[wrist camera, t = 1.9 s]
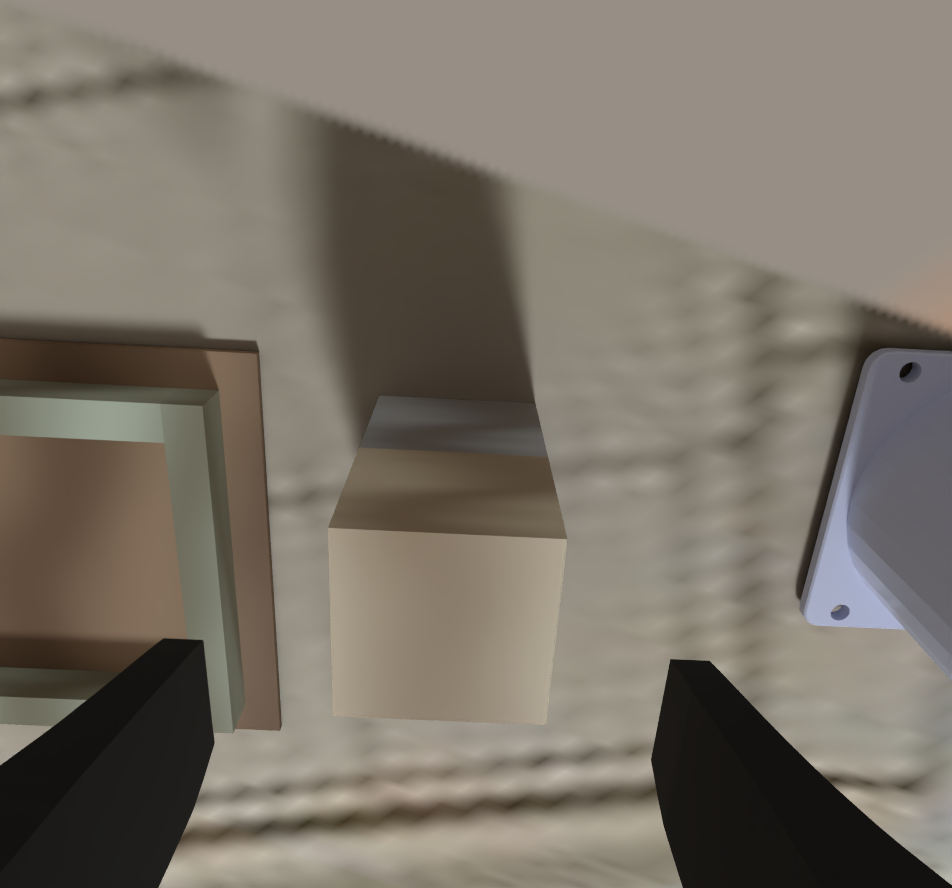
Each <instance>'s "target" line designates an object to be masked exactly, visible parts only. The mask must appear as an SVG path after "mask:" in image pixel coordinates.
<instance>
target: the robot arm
mask: <svg viewBox="0 0 952 888" xmlns="http://www.w3.org/2000/svg"><path fill="white" fill-rule="evenodd" d="M910 362H912V370H911V371H910V373H909V374H908V375H907V376H905V377H903V378H900V377H899V375H900V370H901V368H902V367H903V366H904V365H906V364H907V363H910ZM837 605H843V606H842V607H841V609H839V610H838V611H835V612H831V611H832V609H833V608H834V607H836V606H837ZM800 611H801V613H802V615H803V616H804V618H805V619H806V621H808V622H809V623H810V624H813V625H818V626H840V627H862V628H884V629H905V630H906V631H907V632H908V633H909V634H910V635H911V636H912V637H913V638H914V640H915V641H916V642H917V643H918V644H919V645H920V646H921V647H922V649H923V650H924V651H925V652H926V653H927V654H928V655H929V656H930V657H931V659H932V660H933V661H934V662H935V663H936V664H937V665H938V666H939V667H940V669H941V670H942V671H943V672H944V673H945V674H946V675H947V676H948V678H949V679H950V680H951V681H952V351H939V350H920V349H901V348H883V349H879V350H877V351H875V352H873V353H872V354H871V355H870V356H869V357H868V358H867V359H866V361H865V363H864V365H863V368H862V371H861V375H860V379H859V383H858V386H857V390H856V394H855V398H854V402H853V405H852V409H851V413H850V417H849V420H848V424H847V428H846V432H845V435H844V439H843V443H842V447H841V450H840V454H839V458H838V462H837V465H836V469H835V473H834V477H833V481H832V484H831V488H830V492H829V496H828V499H827V503H826V507H825V511H824V514H823V518H822V522H821V526H820V529H819V533H818V537H817V541H816V544H815V548H814V552H813V556H812V560H811V563H810V567H809V571H808V575H807V578H806V582H805V586H804V590H803V593H802V597H801V601H800ZM213 746H214V734H213V725H212V715H211V706H210V697H209V687H208V678H207V669H206V659H205V650H204V641H203V640H194V639H169V638H163V639H162V640H161V641H159V642H158V643H157V644H155V645H154V646H153V647H151V648H150V649H149V650H148V651H146V652H145V653H144V654H143V655H142V656H140V657H139V658H138V659H137V660H135V661H134V662H133V663H132V664H131V665H129V666H128V667H127V668H126V669H124V670H123V671H122V672H121V673H120V674H118V675H117V676H116V677H115V678H113V679H112V680H111V681H110V682H109V683H107V684H106V685H105V686H104V687H102V688H101V689H100V690H99V691H97V692H96V693H95V694H94V695H92V696H91V697H90V698H89V699H87V700H86V701H85V702H84V703H82V704H81V705H80V706H79V707H77V708H76V709H75V710H74V711H72V712H71V713H70V714H69V715H67V716H66V717H65V718H63V719H62V720H61V721H60V722H58V723H57V724H56V725H55V726H53V727H52V728H51V729H49V730H48V731H47V732H46V733H44V734H43V735H41V736H40V737H39V738H37V739H36V740H35V741H33V742H32V743H30V744H29V745H28V746H26V747H25V748H24V749H22V750H21V751H19V752H18V753H17V754H15V755H14V756H13V757H11V758H10V759H9V760H7V761H6V762H4V763H3V764H2V765H0V888H158V887H159V885H160V883H161V881H162V878H163V876H164V874H165V872H166V870H167V868H168V865H169V863H170V861H171V859H172V856H173V854H174V852H175V850H176V848H177V845H178V843H179V841H180V839H181V836H182V834H183V832H184V830H185V827H186V825H187V823H188V821H189V818H190V816H191V814H192V812H193V809H194V806H195V803H196V800H197V797H198V794H199V791H200V788H201V785H202V782H203V779H204V776H205V773H206V769H207V766H208V763H209V760H210V756H211V753H212V750H213ZM651 762H652V767H653V773H654V778H655V784H656V789H657V795H658V800H659V805H660V810H661V815H662V819H663V824H664V828H665V831H666V835H667V838H668V841H669V845H670V848H671V851H672V854H673V858H674V861H675V864H676V867H677V870H678V874H679V877H680V880H681V883H682V886H683V888H952V885H951V884H949V883H948V882H947V881H945V880H944V879H943V878H942V877H940V876H939V875H938V874H937V873H935V872H934V871H933V870H932V869H930V868H929V867H928V866H927V865H925V864H924V863H923V862H922V861H920V860H919V859H918V858H917V857H915V856H914V855H913V854H912V853H910V852H909V851H908V850H906V849H905V848H904V847H903V846H901V845H900V844H899V843H898V842H897V841H895V840H894V839H893V838H892V837H891V836H889V835H888V834H887V833H886V832H885V831H883V830H882V829H881V828H880V827H879V826H878V825H876V824H875V823H874V822H873V821H872V820H871V819H870V818H868V817H867V816H866V815H865V814H864V813H863V812H862V811H861V810H860V809H858V808H857V807H856V806H855V805H854V804H853V803H852V802H851V801H850V800H848V799H847V798H846V797H845V796H844V795H843V794H842V793H841V792H840V791H838V790H837V789H836V788H835V787H834V786H833V785H832V784H831V783H830V782H829V781H828V780H827V779H826V778H824V777H823V776H822V775H821V774H820V773H819V772H818V771H817V770H816V769H815V768H814V767H813V766H812V765H811V764H810V763H809V762H808V761H807V760H806V759H805V758H804V757H803V756H802V755H801V754H800V753H799V752H798V751H797V750H796V749H795V748H794V747H793V746H791V745H790V744H789V743H788V742H787V741H786V740H785V739H784V738H783V736H782V735H781V734H780V733H779V732H778V731H777V730H776V729H775V728H774V727H773V726H772V725H771V724H770V723H769V722H768V721H767V720H766V719H765V718H764V717H763V716H762V715H761V714H760V713H759V712H758V711H757V710H756V709H755V708H754V707H753V706H752V705H751V704H750V702H749V701H748V700H747V699H746V698H745V697H744V696H743V695H742V694H741V693H740V692H739V691H738V690H737V689H736V688H735V687H734V686H733V685H732V684H731V682H730V681H729V680H728V679H727V678H726V677H725V676H724V675H723V674H722V673H721V672H720V671H719V670H718V669H717V668H716V667H715V666H714V665H713V664H712V663H711V662H710V661H699V660H675V659H670V664H669V670H668V675H667V680H666V685H665V690H664V696H663V701H662V706H661V711H660V716H659V722H658V727H657V732H656V737H655V742H654V748H653V753H652V758H651Z"/></svg>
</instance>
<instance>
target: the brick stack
mask: <svg viewBox="0 0 952 888" xmlns="http://www.w3.org/2000/svg"><path fill="white" fill-rule="evenodd" d="M328 544H329V582H330V621H331V659H332V697H333V716H344V717H368V718H393V719H417V720H441V721H465V722H489V723H513V724H537V725H546V719H547V710H548V701H549V693H550V684H551V676H552V667H553V659H554V650H555V642H556V633H557V624H558V616H559V607H560V599H561V590H562V582H563V573H564V564H565V556H566V547H567V535H566V531H565V527H564V523H563V518H562V514H561V510H560V506H559V502H558V497H557V493H556V489H555V485H554V480H553V476H552V472H551V468H550V464H549V459H548V455H547V451H546V447H545V442H544V438H543V434H542V430H541V426H540V421H539V417H538V413H537V409H536V404H535V403H521V402H501V401H482V400H462V399H443V398H423V397H403V396H384V395H379V398H378V400H377V403H376V406H375V408H374V411H373V413H372V416H371V418H370V421H369V424H368V426H367V429H366V431H365V434H364V437H363V439H362V442H361V444H360V447H359V449H358V452H357V455H356V457H355V460H354V462H353V465H352V468H351V470H350V473H349V475H348V478H347V480H346V483H345V486H344V488H343V491H342V493H341V496H340V499H339V501H338V504H337V506H336V509H335V511H334V514H333V517H332V519H331V522H330V524H329V527H328Z"/></svg>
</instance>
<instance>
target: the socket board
mask: <svg viewBox="0 0 952 888" xmlns="http://www.w3.org/2000/svg"><path fill="white" fill-rule="evenodd" d="M163 638H169V639H194V640H203V641H204V650H205V659H206V669H207V678H208V687H209V697H210V706H211V715H212V725H213V733H233V732H234V730H235V729H254V730H279V731H280V729H281V726H282V724H281V707H280V691H279V674H278V658H277V642H276V625H275V609H274V592H273V576H272V560H271V543H270V527H269V510H268V494H267V477H266V461H265V445H264V428H263V412H262V395H261V379H260V363H259V352H256V351H237V350H218V349H198V348H179V347H160V346H141V345H122V344H103V343H83V342H64V341H45V340H26V339H7V338H0V724H16V725H41V726H55V725H56V724H57V723H58V722H60V721H61V720H62V719H63V718H65V717H66V716H67V715H69V714H70V713H71V712H72V711H74V710H75V709H76V708H77V707H79V706H80V705H81V704H82V703H84V702H85V701H86V700H87V699H89V698H90V697H91V696H92V695H94V694H95V693H96V692H97V691H99V690H100V689H101V688H102V687H104V686H105V685H106V684H107V683H109V682H110V681H111V680H112V679H113V678H115V677H116V676H117V675H118V674H120V673H121V672H122V671H123V670H124V669H126V668H127V667H128V666H129V665H131V664H132V663H133V662H134V661H135V660H137V659H138V658H139V657H140V656H142V655H143V654H144V653H145V652H146V651H148V650H149V649H150V648H151V647H153V646H154V645H155V644H157V643H158V642H159V641H161V640H162V639H163Z"/></svg>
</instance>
